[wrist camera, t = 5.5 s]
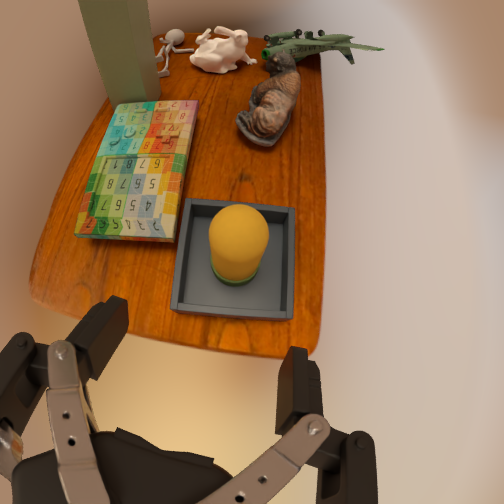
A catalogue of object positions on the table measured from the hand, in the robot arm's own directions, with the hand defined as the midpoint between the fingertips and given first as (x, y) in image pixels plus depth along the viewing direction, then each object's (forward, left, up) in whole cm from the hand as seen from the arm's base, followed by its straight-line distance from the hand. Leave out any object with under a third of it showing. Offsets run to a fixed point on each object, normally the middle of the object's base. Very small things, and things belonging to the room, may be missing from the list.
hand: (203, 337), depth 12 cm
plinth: (-16, +32, -16) cm, 39 cm away
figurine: (-14, +40, -13) cm, 44 cm away
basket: (+1, +8, -16) cm, 18 cm away
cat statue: (+4, +29, -16) cm, 34 cm away
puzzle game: (-11, +19, -16) cm, 27 cm away
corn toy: (+1, +8, -15) cm, 17 cm away
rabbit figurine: (-4, +43, -16) cm, 46 cm away
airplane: (+14, +54, -9) cm, 57 cm away
